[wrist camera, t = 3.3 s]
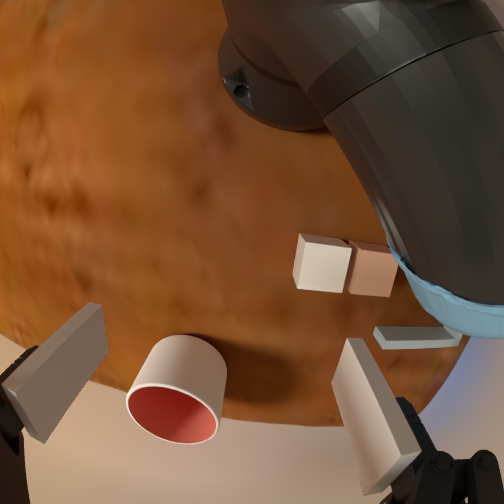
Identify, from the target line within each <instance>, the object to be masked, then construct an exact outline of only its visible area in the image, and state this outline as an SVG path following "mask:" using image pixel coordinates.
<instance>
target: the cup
mask: <svg viewBox="0 0 504 504" xmlns="http://www.w3.org/2000/svg"><path fill="white" fill-rule="evenodd" d="M226 379H227V368H226V364H225V361H224V359H223V357H222V356H221V354H220V353H219V352H218V351H217V350H216V349H215V348H214V347H213V346H212V345H210V344H209V343H207V342H206V341H204V340H202V339H200V338H197V337H193V336H189V335H174V336H169V337H166V338H164V339H162V340H161V341H159V342H158V343H157V344H156V345H155V346H154V347H153V349H152V350H151V352H150V354H149V356H148V358H147V359H146V361H145V363H144V365H143V367H142V368H141V370H140V372H139V374H138V376H137V378H136V379H135V381H134V383H133V385H132V387H131V389H130V390H129V392H128V394H127V397H126V405H127V409H128V412H129V413H130V415H131V416H132V418H133V419H134V421H135V422H136V423H137V424H138V425H139V426H140V427H142V428H143V429H144V430H146V431H147V432H149V433H150V434H152V435H154V436H156V437H158V438H160V439H163V440H166V441H169V442H173V443H178V444H198V443H202V442H205V441H207V440H210V439H211V438H212V437H214V436H215V435H216V433H217V432H218V430H219V425H220V419H221V412H222V405H223V398H224V392H225V385H226Z"/></svg>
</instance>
